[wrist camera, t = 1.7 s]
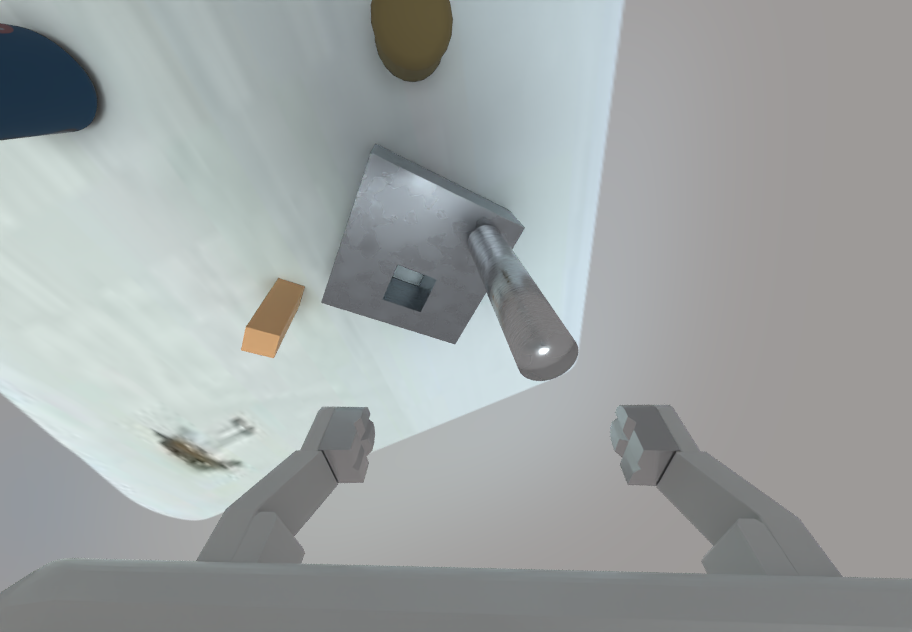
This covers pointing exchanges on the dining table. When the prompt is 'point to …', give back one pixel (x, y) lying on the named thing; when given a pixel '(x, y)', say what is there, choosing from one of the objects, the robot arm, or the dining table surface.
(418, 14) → the cork
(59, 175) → the dining table surface
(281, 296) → the orange brown rectangular block
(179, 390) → the dining table surface
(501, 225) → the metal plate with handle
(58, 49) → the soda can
